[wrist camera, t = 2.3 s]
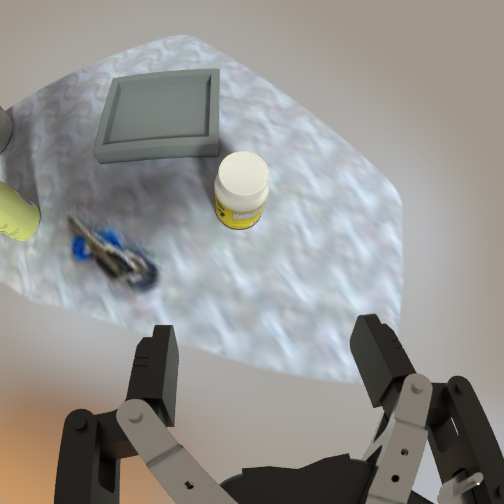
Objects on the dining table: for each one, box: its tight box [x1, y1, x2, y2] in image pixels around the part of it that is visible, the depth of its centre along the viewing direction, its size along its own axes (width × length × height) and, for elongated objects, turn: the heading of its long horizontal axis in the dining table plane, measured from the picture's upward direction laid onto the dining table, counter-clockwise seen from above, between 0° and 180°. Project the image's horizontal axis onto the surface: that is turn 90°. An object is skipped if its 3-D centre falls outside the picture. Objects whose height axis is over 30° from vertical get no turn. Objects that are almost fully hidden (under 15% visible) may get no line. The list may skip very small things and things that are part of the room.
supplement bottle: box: [214, 151, 269, 231], centre depth 27 cm, size 5×5×8 cm
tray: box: [93, 69, 220, 164], centre depth 32 cm, size 14×12×2 cm
